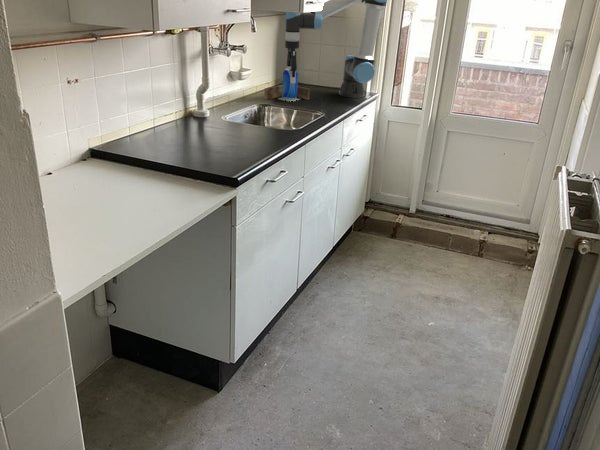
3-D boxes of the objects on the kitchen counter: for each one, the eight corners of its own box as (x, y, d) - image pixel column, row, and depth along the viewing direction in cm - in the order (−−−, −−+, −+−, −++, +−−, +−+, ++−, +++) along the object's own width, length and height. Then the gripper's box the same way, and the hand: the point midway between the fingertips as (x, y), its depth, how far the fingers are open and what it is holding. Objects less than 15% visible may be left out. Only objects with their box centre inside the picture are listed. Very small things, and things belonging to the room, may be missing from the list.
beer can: (298, 100, 295) (300, 70, 289) (284, 100, 293) (285, 70, 286) (294, 97, 303) (295, 68, 296) (280, 97, 300) (281, 68, 293)
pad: (287, 96, 304) (287, 96, 303) (300, 99, 299) (300, 99, 299) (278, 99, 297) (278, 98, 297) (290, 101, 292) (290, 101, 292)
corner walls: (285, 94, 309) (286, 83, 307) (309, 99, 301) (309, 88, 298) (264, 99, 294) (264, 88, 292) (287, 104, 286) (288, 93, 283)
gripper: (282, 37, 295) (281, 76, 304) (288, 43, 273) (287, 85, 282) (295, 37, 296) (294, 76, 305) (303, 43, 274) (301, 85, 283)
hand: (291, 80), depth 294 cm, fingers open, 13 cm apart
